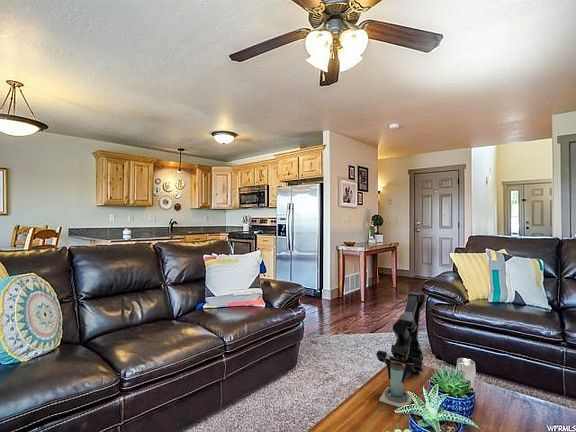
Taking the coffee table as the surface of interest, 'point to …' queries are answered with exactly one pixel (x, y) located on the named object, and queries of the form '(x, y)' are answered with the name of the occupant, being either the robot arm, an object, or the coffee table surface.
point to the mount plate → (395, 401)
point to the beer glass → (467, 369)
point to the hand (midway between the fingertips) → (395, 380)
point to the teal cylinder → (396, 380)
